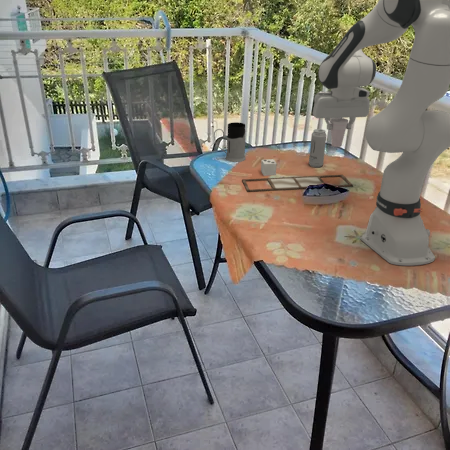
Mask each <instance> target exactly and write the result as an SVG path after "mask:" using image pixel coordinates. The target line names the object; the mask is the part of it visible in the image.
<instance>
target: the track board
mask: <svg viewBox="0 0 450 450" xmlns="http://www.w3.org/2000/svg"><path fill="white" fill-rule="evenodd" d="M338 177H339V178H342V180H344V182H346V184H334V185H333V186H338V187H337V188H347V187H348V188H352V187H354V184H352V182H351V181H350V180H349V179H348V178H347V177H346V176H345V175H344V174H330V175H329V174H327V175H326V174H325V175H324V174H322V175H309V176H308V175H307V176H306V175H304V176H287V177H285V176H284V177H267V178H246V179H244V178H243V179H242V180H241V181H242V184H243V186H244V188H245V190H246V192H247V193H256V192H259V193H260V192H272V191H273V192H274V191H291V190H292V191H293V190H294V191H296V190H297V191H298V190H307V189H306V188H307V186H309V185H317V184H322V183H325V182H324V180H323V179H324V178H326V179H327V178H338ZM262 181H264V182H265V181H267V182H268V183H269V185H270V187H271V188H259V189H258V188H257V189H254V188H253V189H251V188H250V187H249V186H248V184H247V182H262Z"/></svg>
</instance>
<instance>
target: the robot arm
mask: <svg viewBox="0 0 450 450" xmlns="http://www.w3.org/2000/svg"><path fill="white" fill-rule="evenodd" d="M411 26H412V27H413V30H414V39H413V42H412V47H411V50H410V54H409V58H408V60H407V61H408V62H407V65H406V68H405V69H406V70H405V72H404V76H403V79H402V82H401V85H400V87H399V89H398V91H397V92H396V94H395V96H394V97H393V98H392V100H391V101H390V102H389V103H388V105H386V107H384V108H383V110H381V111H380V112H378V113H376V114H375V115H374V116H372V117H371V118H370V119H369V121H368V123H367V125H366V128H365V139H366V140H365V141H366V142H367V145H368V146H369V148H371V150H373V151H376V152H380V153H387V154H394V153H395V154H396V153H397V154H398V153H401V154H400V156H398V157H397V158H396V159H395V160H393V161H392V162H390V163H389V164H387V165H386V167H385V168H384V169H383V174H382V179H381V183H380V190H379V191H378V193H377V196H376V201H375V202H376V203H375V205H376V207H375V208H374V210H373V211H372V213H371V214H370V216H369V220H368V223H367V226H366V230H365V233H364V234H362V235H361V237H360V240H361V241H362V242H363V243H364V244H366V245H367V246H368V247H369V248H370V249H371V250H373V251H374V252H375V253H376V254H378V255H379V256H380V257H381V258H382V259H384V260H385V261H386V262H387V263H389V264H391V265H395V266H396V265H397V266H420V265H421V266H422V265H426V264H430V263H432V262H434V261H435V260H436V256H435V255H434V253H433V252H432V250H431V248H430V246H429V242H430V238H429V237H430V236H431V230H430V229H429V228H428V229H427V228H426V227H425V224H424V220H423V219H422V217H421V213H422V212H423V211H422V210H423V208H421V206H422V203H421V198H420V197H421V193H422V190H423V186H424V183H425V178H426V177H427V174H428V172H429V170H430V168H431V167H432V165H433V164H434V163H435V162H436V160H437V159H438V158H439V157H440V155H441V154H443V153H444V152H445V151H446V150H447V149H449V148H450V112H447V111H444V110H435V109H434V110H432V109H431V110H427V109H428V108H429V107H430V106H431V105H432V104H434V103H435V102H437V101H439V100H441V99H442V98H444V96H445V95H446V94H447V93H448V91H449V88H450V0H378V1H377V3H376V5H375V6H374V7H373V8H372V10H371V11H369V12H368V13H367V14H366V15H365V16H364V17H362V18H361V19H360V20H358V21H357V22H355V23H354V24H353V25H352V26H351V27H349V29H348V31H347V32H346V33H345V34H344V35H343V37H342V39H341V40H340V41H339V42H338V44H337V45H336V46H335V48H334V49H333V51H332V52H331V53H330V54H328V55H327V56H326V57H325V58H324V59H323V60H322V62H321V63H320V64H319V68H318V73H317V74H318V76H317V77H318V80H319V82H320V83H321V85H322V86H323V87H325V89H327V90H325V91H319V92H317V93H316V94H315V95H314V106H313V109H312V116H314V118H316V119H324V122H325V123H326V130H327V131H330V130H332V125H331V122H330V121H331V119H332V118H344V119H347V118H349V119H350V120H348V124H347V126H346V130H351V129H352V125H353V124H354V122H355V121H356V118H366V117H368V115H369V114H370V109H371V108H370V106H371V101H370V98H369V96H370V93H371V92H370V91H369V90H367V89H366V88H364V87H366V86H367V87H368V86H369V85H370V84H372V82H373V81H374V79H375V78H376V73H377V65H376V63H375V61H374V60H373V59H372V58H371V57H369V56H368V55H366V53H364V51H363V49H365V48H368V47H372V46H376V45H381V44H388V43H392V42H393V41H396V40H398V39H400V37H402V35H403V34H405V33H406V32H407V31H408V29H409V28H410V27H411ZM329 90H330V91H329Z"/></svg>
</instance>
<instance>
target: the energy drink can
mask: <svg viewBox="0 0 450 450" xmlns="http://www.w3.org/2000/svg"><path fill="white" fill-rule="evenodd" d="M326 143H327V133H326V130H325V129H321V128H316V129H315V128H314V130H313V132H312V133H311V138H310V149H309V158H308V164H309V166H311V167H312V168H321V167H322V166H323V165H324V161H325V152H326V151H325V150H326Z"/></svg>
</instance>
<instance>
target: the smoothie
mask: <svg viewBox="0 0 450 450" xmlns="http://www.w3.org/2000/svg"><path fill="white" fill-rule="evenodd" d="M329 123H330V124H331V125H332V130H331V131H330V132H331V133H330V135H331V136H330V138H331V139H330V140H331V141H330V143H331V146H332V147H334V148H340V147H342V145H343V141H344V137H345V133H346V130H347V129H346V126H347V124H348V123H349V120H348V119H347V118H330V121H329Z"/></svg>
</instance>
